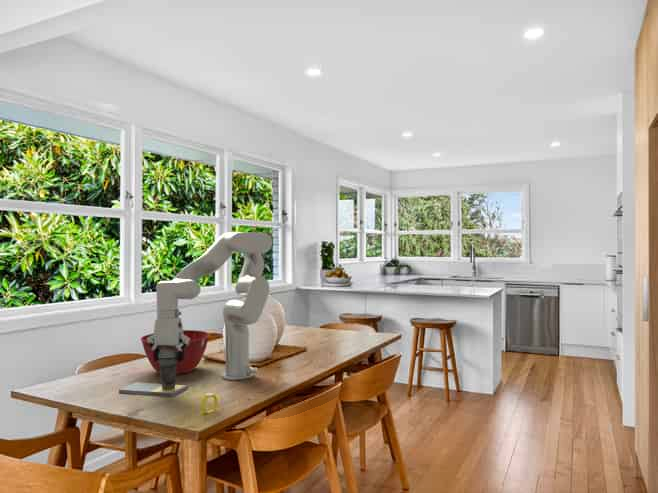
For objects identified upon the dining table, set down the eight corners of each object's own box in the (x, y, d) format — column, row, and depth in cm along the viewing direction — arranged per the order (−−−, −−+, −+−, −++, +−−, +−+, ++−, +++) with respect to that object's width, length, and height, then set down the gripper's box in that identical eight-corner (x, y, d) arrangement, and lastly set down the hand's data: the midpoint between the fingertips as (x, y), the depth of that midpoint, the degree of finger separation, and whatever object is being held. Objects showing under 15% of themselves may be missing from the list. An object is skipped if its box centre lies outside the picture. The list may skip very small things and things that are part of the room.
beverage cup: (161, 386, 184) (160, 332, 185) (180, 385, 185) (180, 332, 185) (155, 391, 177) (155, 335, 177) (176, 390, 178) (175, 335, 178)
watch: (206, 416, 155) (205, 398, 154) (199, 415, 156) (198, 396, 156) (219, 409, 160) (218, 391, 159) (213, 408, 161) (212, 390, 161)
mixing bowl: (190, 381, 196) (190, 342, 196) (126, 378, 202) (126, 340, 202) (220, 365, 224) (220, 331, 224) (163, 362, 230) (162, 329, 230)
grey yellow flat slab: (187, 388, 185) (187, 385, 185) (172, 396, 175) (172, 392, 175) (135, 385, 190) (135, 382, 190) (118, 392, 180) (118, 389, 180)
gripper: (194, 313, 183) (195, 359, 183) (152, 312, 187) (154, 357, 187) (183, 316, 176) (184, 364, 176) (140, 315, 180) (142, 362, 180)
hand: (168, 360), depth 182 cm, fingers open, 9 cm apart
